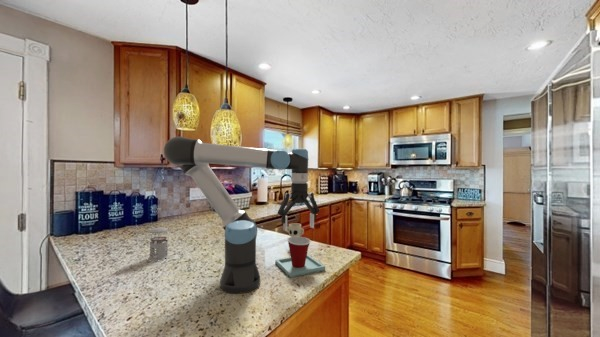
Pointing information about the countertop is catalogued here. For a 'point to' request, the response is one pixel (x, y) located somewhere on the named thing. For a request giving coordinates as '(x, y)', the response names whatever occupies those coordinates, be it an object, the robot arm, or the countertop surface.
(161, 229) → the french press
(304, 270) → the tray
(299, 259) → the plastic cup
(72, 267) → the countertop surface
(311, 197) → the robot arm
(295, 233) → the character mug
